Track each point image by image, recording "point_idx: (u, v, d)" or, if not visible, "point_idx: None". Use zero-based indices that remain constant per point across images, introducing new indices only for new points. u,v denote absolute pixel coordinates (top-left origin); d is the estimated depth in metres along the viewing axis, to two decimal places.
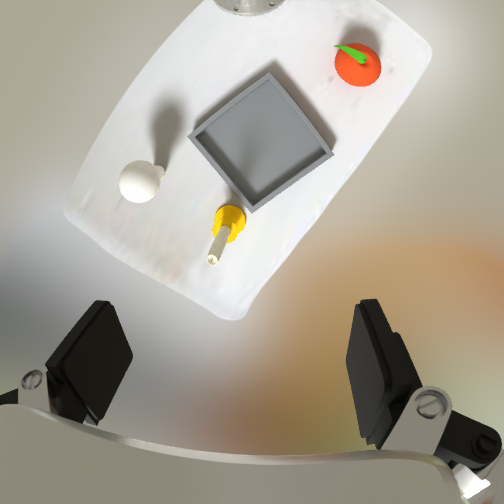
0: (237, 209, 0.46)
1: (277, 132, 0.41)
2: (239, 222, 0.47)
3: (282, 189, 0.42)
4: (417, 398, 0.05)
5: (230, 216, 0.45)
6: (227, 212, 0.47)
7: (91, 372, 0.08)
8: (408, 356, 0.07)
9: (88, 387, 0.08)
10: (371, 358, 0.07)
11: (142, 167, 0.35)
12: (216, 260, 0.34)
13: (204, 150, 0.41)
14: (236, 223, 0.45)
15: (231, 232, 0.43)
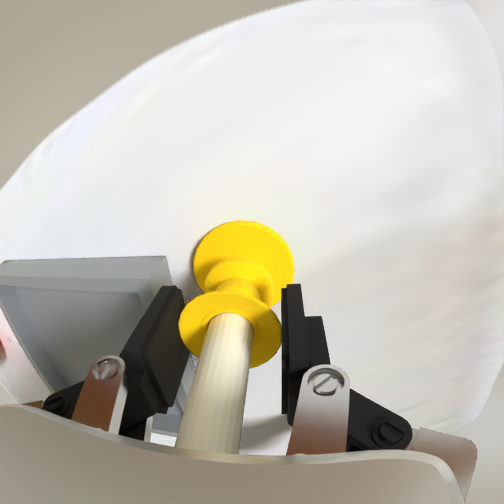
0: (203, 285, 0.15)
1: (68, 345, 0.19)
2: (217, 252, 0.14)
3: (60, 281, 0.14)
4: (316, 375, 0.07)
5: None
6: None
7: (166, 357, 0.09)
8: (324, 338, 0.09)
9: (163, 373, 0.09)
10: None
11: None
12: None
13: None
14: (208, 282, 0.13)
15: (210, 316, 0.10)
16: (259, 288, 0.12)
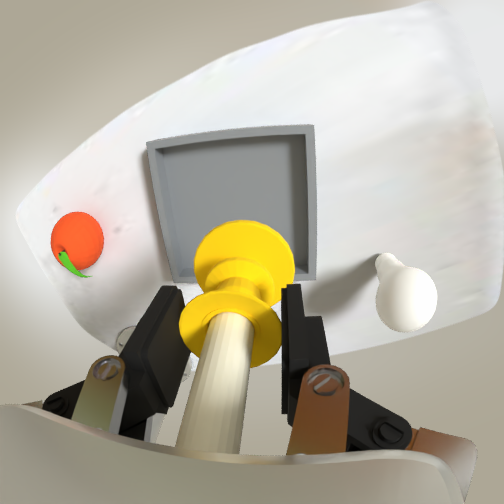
0: (203, 285, 0.15)
1: (208, 205, 0.29)
2: (218, 252, 0.14)
3: (244, 131, 0.24)
4: (316, 375, 0.07)
5: None
6: None
7: (166, 357, 0.09)
8: (324, 338, 0.09)
9: (163, 373, 0.09)
10: None
11: (385, 319, 0.23)
12: None
13: (310, 251, 0.28)
14: (209, 281, 0.13)
15: (211, 316, 0.10)
16: (260, 287, 0.12)
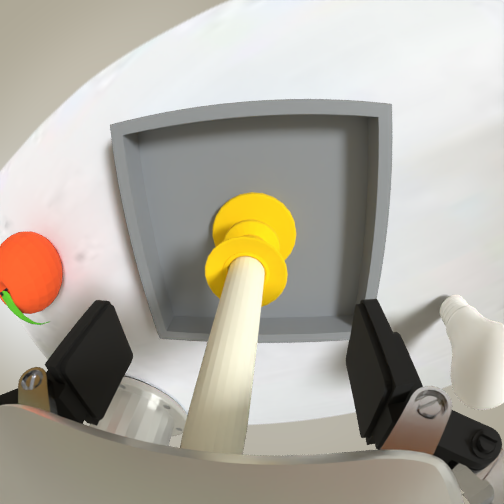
0: None
1: (210, 227, 0.18)
2: (233, 218, 0.17)
3: (277, 104, 0.13)
4: (417, 398, 0.05)
5: None
6: None
7: (91, 372, 0.08)
8: (408, 356, 0.07)
9: (88, 387, 0.08)
10: (371, 358, 0.07)
11: (466, 399, 0.12)
12: None
13: None
14: (227, 239, 0.16)
15: (231, 259, 0.13)
16: None
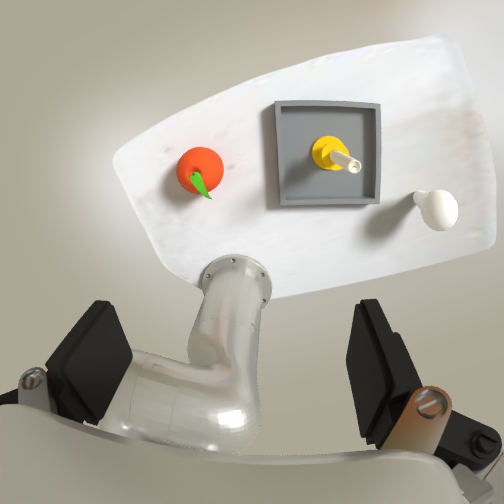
0: (314, 157, 0.40)
1: (310, 149, 0.40)
2: (321, 145, 0.39)
3: (341, 102, 0.35)
4: (417, 398, 0.05)
5: None
6: None
7: (91, 372, 0.08)
8: (408, 356, 0.07)
9: (88, 387, 0.08)
10: (371, 358, 0.07)
11: (430, 219, 0.34)
12: (350, 163, 0.27)
13: (376, 182, 0.40)
14: (322, 149, 0.38)
15: (330, 150, 0.35)
16: None
